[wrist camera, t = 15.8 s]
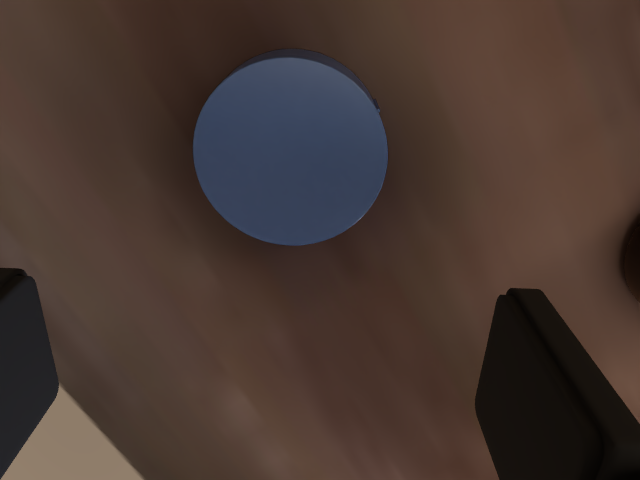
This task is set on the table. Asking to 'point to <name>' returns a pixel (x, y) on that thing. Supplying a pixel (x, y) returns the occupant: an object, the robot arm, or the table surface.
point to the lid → (291, 148)
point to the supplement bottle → (633, 264)
